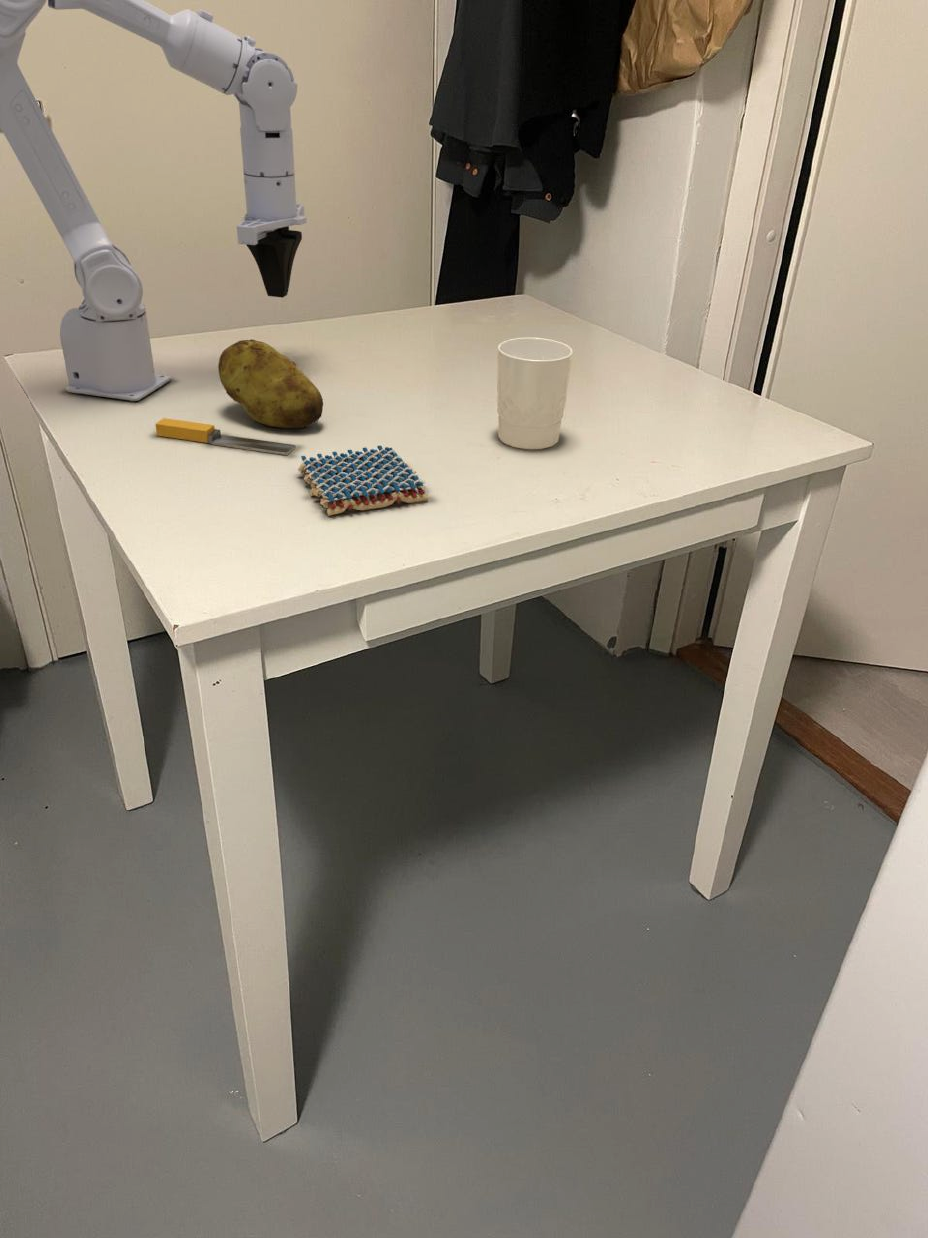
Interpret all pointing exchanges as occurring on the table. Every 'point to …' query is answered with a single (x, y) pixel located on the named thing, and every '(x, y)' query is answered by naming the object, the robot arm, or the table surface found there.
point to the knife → (216, 436)
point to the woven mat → (362, 480)
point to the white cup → (532, 391)
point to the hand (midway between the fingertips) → (277, 295)
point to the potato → (269, 385)
